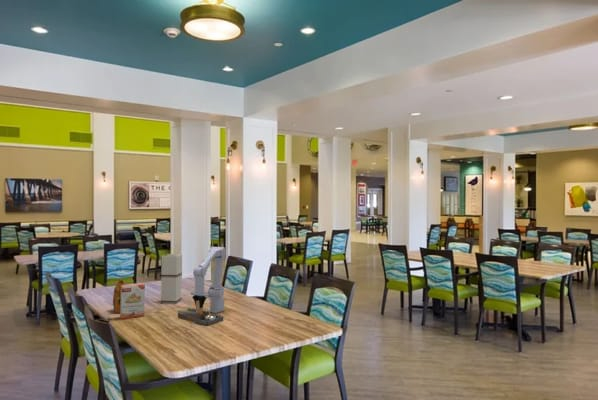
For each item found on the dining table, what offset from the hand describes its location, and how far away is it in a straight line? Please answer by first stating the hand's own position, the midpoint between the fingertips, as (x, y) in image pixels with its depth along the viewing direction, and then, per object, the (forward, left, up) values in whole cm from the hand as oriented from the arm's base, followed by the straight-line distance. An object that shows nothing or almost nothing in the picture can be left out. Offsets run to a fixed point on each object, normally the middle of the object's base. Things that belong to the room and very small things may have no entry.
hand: (199, 307), depth 261 cm
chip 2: (0, +11, -6) cm, 13 cm away
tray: (0, +9, -8) cm, 12 cm away
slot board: (0, -5, -8) cm, 9 cm away
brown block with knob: (0, 0, -5) cm, 5 cm away
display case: (-21, -51, -8) cm, 56 cm away
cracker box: (+20, -40, -8) cm, 46 cm away
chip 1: (0, +8, -6) cm, 10 cm away
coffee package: (+16, -58, -8) cm, 61 cm away
